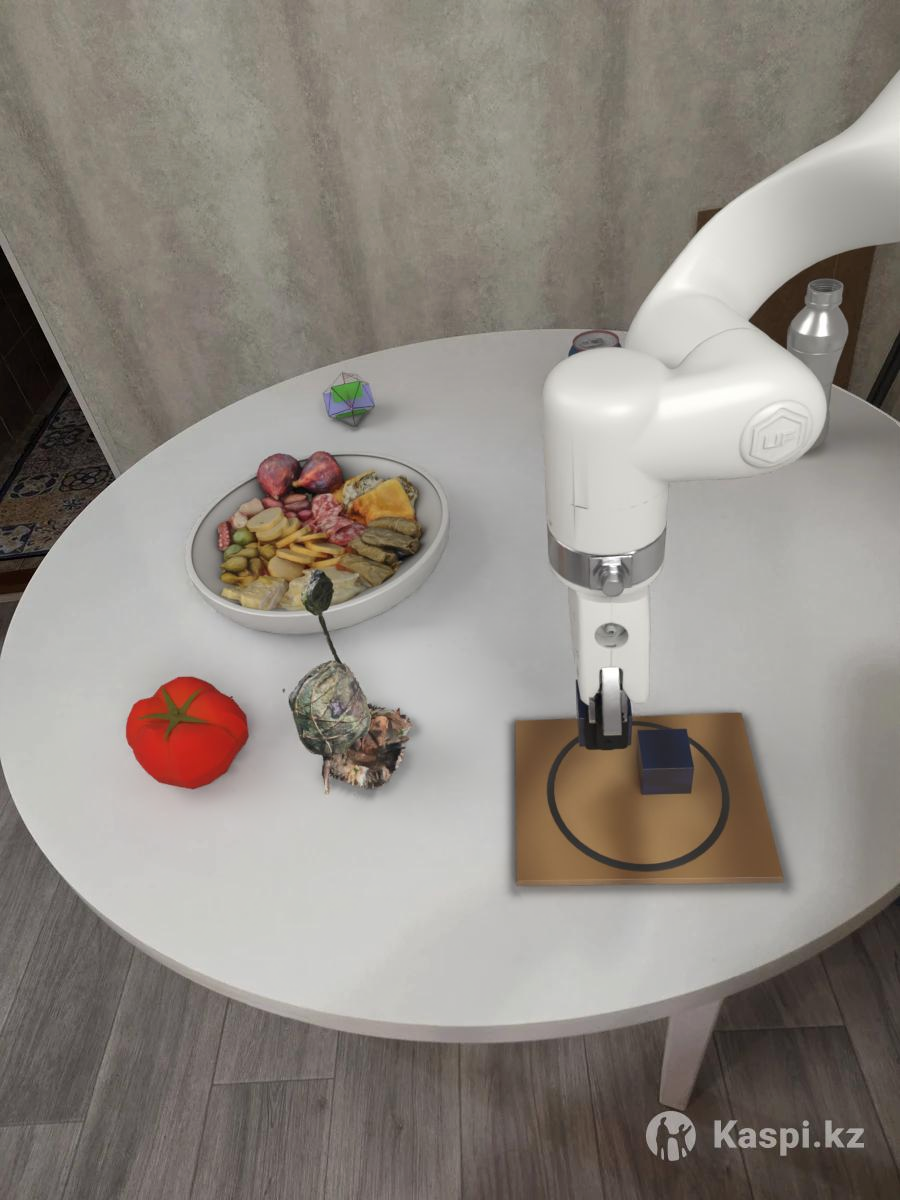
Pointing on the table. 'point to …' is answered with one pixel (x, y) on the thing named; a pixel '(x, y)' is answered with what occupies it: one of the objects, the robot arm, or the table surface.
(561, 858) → the board
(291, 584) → the bowl
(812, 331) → the plastic bottle
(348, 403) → the geometric puzzle
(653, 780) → the dark blue cube
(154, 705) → the tomato
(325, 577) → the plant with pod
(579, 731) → the dark blue block
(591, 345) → the soda can
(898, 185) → the robot arm
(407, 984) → the table surface
